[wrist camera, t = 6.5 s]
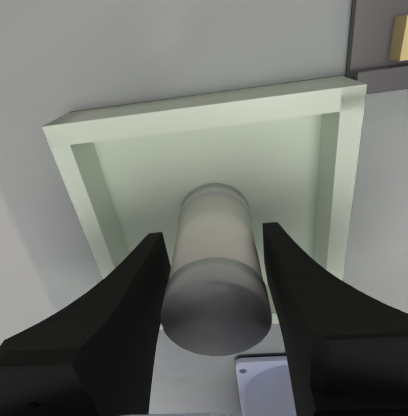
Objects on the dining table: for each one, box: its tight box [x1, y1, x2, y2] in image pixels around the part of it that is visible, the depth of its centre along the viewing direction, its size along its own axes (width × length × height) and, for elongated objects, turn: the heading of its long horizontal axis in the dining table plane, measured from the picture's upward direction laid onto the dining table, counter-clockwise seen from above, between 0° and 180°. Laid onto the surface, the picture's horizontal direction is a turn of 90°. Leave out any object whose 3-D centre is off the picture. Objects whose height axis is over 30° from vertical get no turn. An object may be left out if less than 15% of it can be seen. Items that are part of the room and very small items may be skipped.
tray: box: [42, 76, 367, 330], centre depth 15 cm, size 12×12×2 cm
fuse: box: [161, 183, 272, 356], centre depth 12 cm, size 4×4×6 cm
